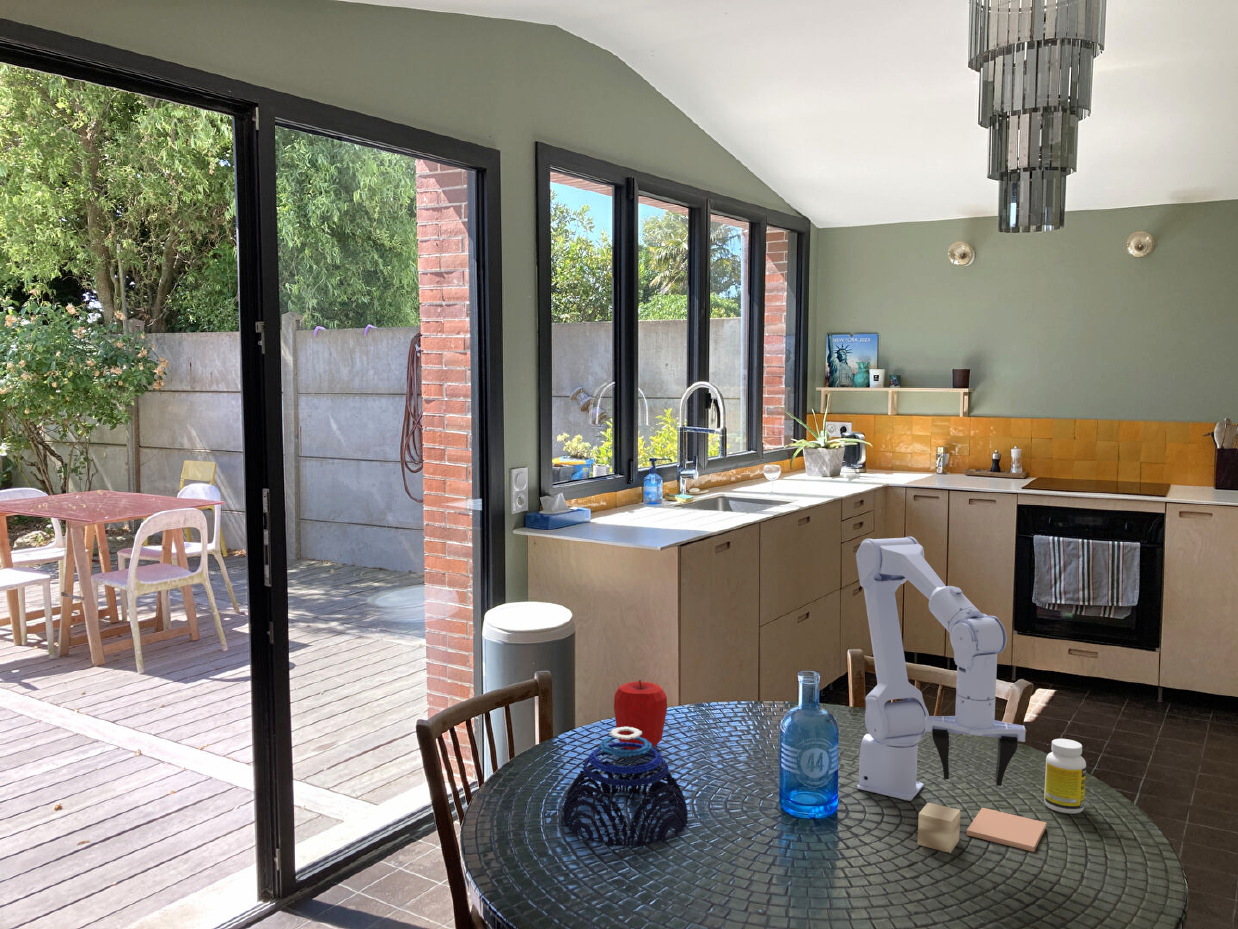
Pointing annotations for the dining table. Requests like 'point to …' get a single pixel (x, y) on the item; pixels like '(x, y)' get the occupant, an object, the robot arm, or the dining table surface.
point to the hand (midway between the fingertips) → (972, 780)
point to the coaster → (1007, 829)
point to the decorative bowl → (638, 770)
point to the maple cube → (938, 827)
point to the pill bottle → (1065, 777)
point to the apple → (641, 711)
